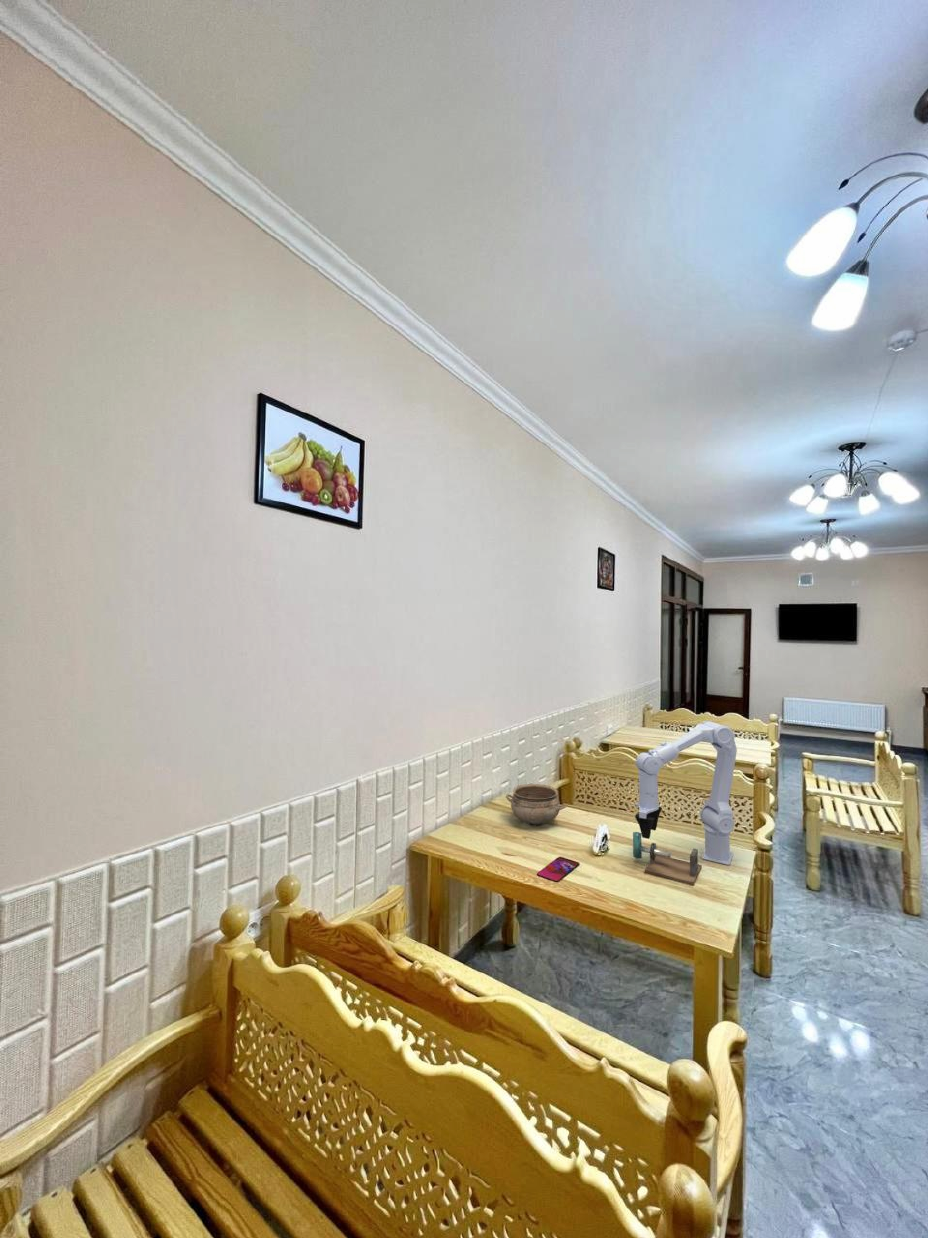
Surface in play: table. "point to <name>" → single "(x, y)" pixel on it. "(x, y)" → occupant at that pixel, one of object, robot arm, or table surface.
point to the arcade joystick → (646, 848)
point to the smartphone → (558, 869)
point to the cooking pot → (535, 803)
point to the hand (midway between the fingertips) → (649, 833)
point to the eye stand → (676, 868)
